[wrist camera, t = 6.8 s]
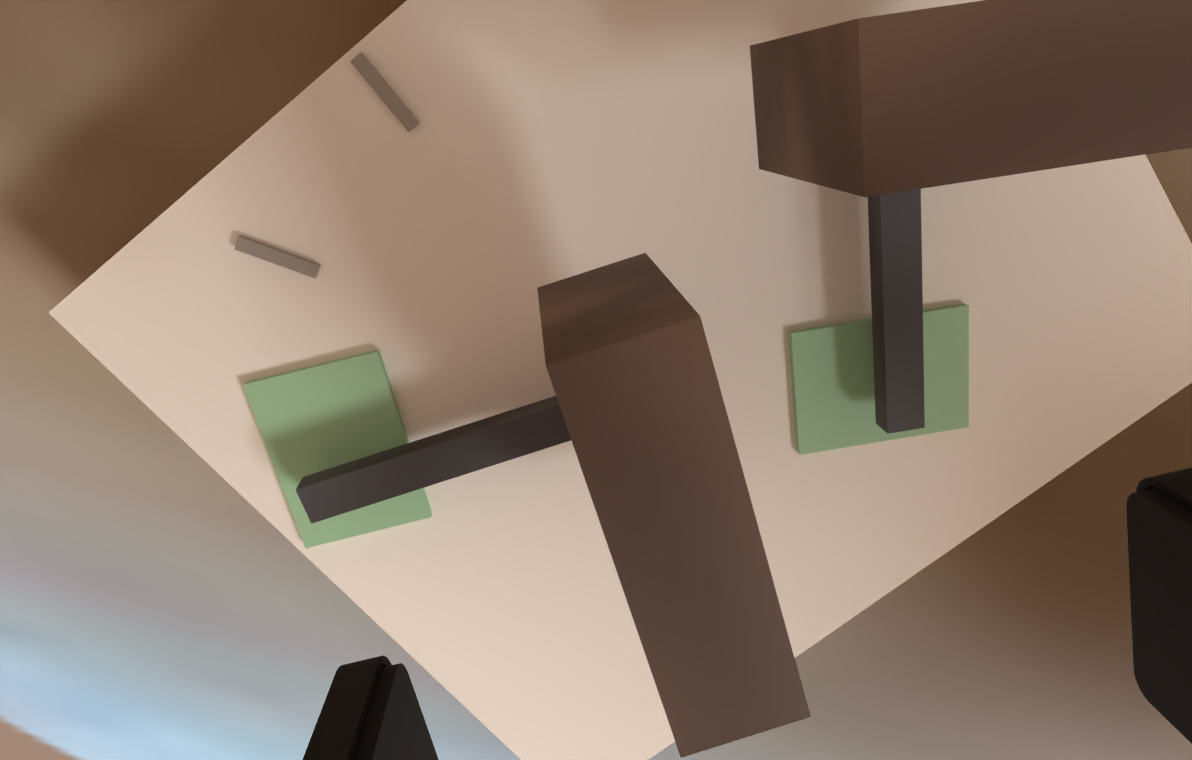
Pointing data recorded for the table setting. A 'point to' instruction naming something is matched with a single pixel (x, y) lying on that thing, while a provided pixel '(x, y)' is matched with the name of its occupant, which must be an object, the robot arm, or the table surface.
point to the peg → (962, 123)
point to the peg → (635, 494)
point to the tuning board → (585, 242)
